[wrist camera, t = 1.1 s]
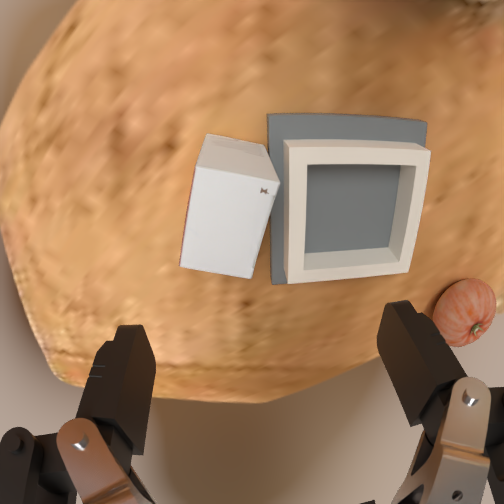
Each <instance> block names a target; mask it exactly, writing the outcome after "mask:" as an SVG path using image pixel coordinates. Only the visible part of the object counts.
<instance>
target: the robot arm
mask: <svg viewBox="0 0 504 504" xmlns="http://www.w3.org/2000/svg"><path fill="white" fill-rule="evenodd" d="M377 348H378V351H379V354H380V356H381V358H382V360H383V363H384V365H385V367H386V369H387V372H388V374H389V376H390V378H391V381H392V383H393V386H394V388H395V390H396V393H397V395H398V397H399V400H400V402H401V404H402V407H403V409H404V412H405V414H406V417H407V419H408V422H409V424H410V427H412V426H415V425H418V424H421V423H422V425H423V427H424V431H423V432H422V434H421V437H420V440H419V443H418V446H417V449H416V452H415V455H414V458H413V460H412V463H411V466H410V468H409V471H408V473H407V476H406V478H405V480H404V482H403V484H402V485H401V487H400V489H399V490H398V491H397V493H396V495H395V497H394V498H393V500H392V503H391V504H481V500H482V496H483V493H484V489H485V485H486V480H487V479H488V482H489V485H490V488H491V491H492V495H493V498H494V501H495V504H504V387H495V388H488V387H487V386H486V384H485V383H484V382H482V381H481V380H479V379H477V378H473V377H468V376H467V375H466V373H465V371H464V370H463V368H462V367H461V365H460V363H459V361H458V360H457V358H456V356H455V355H454V353H453V352H452V350H451V348H450V347H449V345H448V344H447V343H446V340H445V339H444V337H443V336H442V334H441V335H440V331H439V330H438V328H437V327H436V325H435V323H434V322H433V321H432V320H431V319H429V318H428V317H427V316H426V315H424V314H423V313H417V312H416V310H415V309H414V307H413V306H412V304H411V303H410V302H409V301H408V300H404V301H398V302H391V303H387V304H386V305H385V307H384V311H383V315H382V319H381V323H380V327H379V330H378V334H377ZM155 374H156V362H155V357H154V354H153V351H152V348H151V346H150V343H149V341H148V338H147V335H146V332H145V330H144V327H143V326H142V325H120V326H119V327H118V328H117V331H116V334H115V337H114V340H113V341H106V342H105V343H104V344H103V345H102V347H101V348H100V349H99V350H98V351H97V353H96V356H95V359H94V362H93V367H92V368H91V370H90V373H89V378H88V379H87V382H86V386H85V389H84V392H83V395H82V398H81V401H80V405H79V408H78V411H77V414H76V417H75V419H72V420H69V421H68V422H66V423H65V424H64V425H63V426H62V427H61V428H60V430H59V432H58V433H53V434H46V435H39V436H33V435H32V434H31V433H30V432H29V431H28V430H27V429H25V428H22V427H15V428H12V429H10V430H9V431H7V432H6V433H5V434H4V436H3V437H2V440H1V442H0V504H76V496H77V492H78V494H79V495H80V498H81V500H82V502H83V504H157V502H156V501H155V499H154V498H153V496H152V495H151V494H150V492H149V491H148V490H147V488H146V487H145V485H144V484H143V482H142V481H141V479H140V478H139V476H138V475H137V473H136V472H135V470H134V469H133V467H132V466H131V458H132V455H143V453H144V445H145V438H146V431H147V423H148V417H149V410H150V404H151V398H152V391H153V385H154V380H155ZM361 504H375V500H372V501H368V502H365V503H361Z"/></svg>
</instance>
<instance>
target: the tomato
mask: <svg viewBox="0 0 504 504" xmlns="http://www.w3.org/2000/svg"><path fill="white" fill-rule="evenodd" d="M495 312H496V298H495V294H494V292H493V290H492V289H491V288H490V286H489V285H487V284H486V283H485V282H483V281H481V280H479V279H464V280H461V281H459V282H457V283H455V284H453V285H452V286H451V287H449V288H448V289H447V290H446V291H445V292H444V293H443V294H442V296H441V297H440V299H439V300H438V302H437V304H436V306H435V309H434V313H433V322H434V323H435V325H436V327H437V328H438V330H439V331H440V335H441V334H442V336H443V337H444V339H445V340H446V343H447V344H448V345H449V346H454V347H462V346H465V345H467V344H470V343H472V342H474V341H475V340H477V339H478V338H479V337H480V336H481V335H482V334H484V333H485V332H486V330H487V329H488V328H489V326H490V325H491V323H492V320H493V318H494V316H495Z"/></svg>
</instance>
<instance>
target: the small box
mask: <svg viewBox="0 0 504 504" xmlns="http://www.w3.org/2000/svg"><path fill="white" fill-rule="evenodd" d="M279 186H280V181H279V179H278V176H277V174H276V172H275V169H274V167H273V164H272V162H271V160H270V157H269V155H268V153H267V151H266V148H265V146H264V145H262V144H257V143H253V142H248V141H243V140H239V139H234V138H229V137H224V136H219V135H214V134H209V133H207V134H206V136H205V139H204V142H203V145H202V148H201V150H200V153H199V157H198V159H197V162H196V165H195V169H194V174H193V180H192V185H191V190H190V196H189V201H188V206H187V212H186V219H185V226H184V232H183V239H182V247H181V255H180V262H179V266H180V267H184V268H189V269H195V270H200V271H206V272H212V273H218V274H224V275H230V276H235V277H241V278H247V279H251V278H252V276H253V272H254V267H255V263H256V260H257V256H258V252H259V249H260V246H261V242H262V239H263V235H264V232H265V229H266V225H267V222H268V219H269V215H270V212H271V209H272V206H273V203H274V200H275V197H276V194H277V191H278V189H279Z"/></svg>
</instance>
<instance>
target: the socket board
mask: <svg viewBox="0 0 504 504" xmlns="http://www.w3.org/2000/svg"><path fill="white" fill-rule="evenodd" d="M426 132H427V122H424V121H421V120H416V119H407V118H397V117H386V116H373V115H356V114H332V113H274V114H267V138H268V155H269V157H270V160H271V162H272V164H273V167H274V169H275V172H276V174H277V176H278V179H279V181H280V186H279V189H278V191H277V194H276V197H275V200H274V203H273V206H272V209H271V212H270V272H271V282H272V285H274V284H286V283H288V284H294V283H306V282H317V281H328V280H339V279H349V278H360V277H370V276H379V275H389V274H398V273H407V272H408V271H409V267H410V263H411V259H412V255H413V250H414V246H415V242H416V237H417V233H418V228H419V223H420V218H421V213H422V208H423V202H424V196H425V191H426V184H427V178H428V171H429V164H430V156H431V151H430V150H428V149H426V148H425V142H426Z"/></svg>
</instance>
